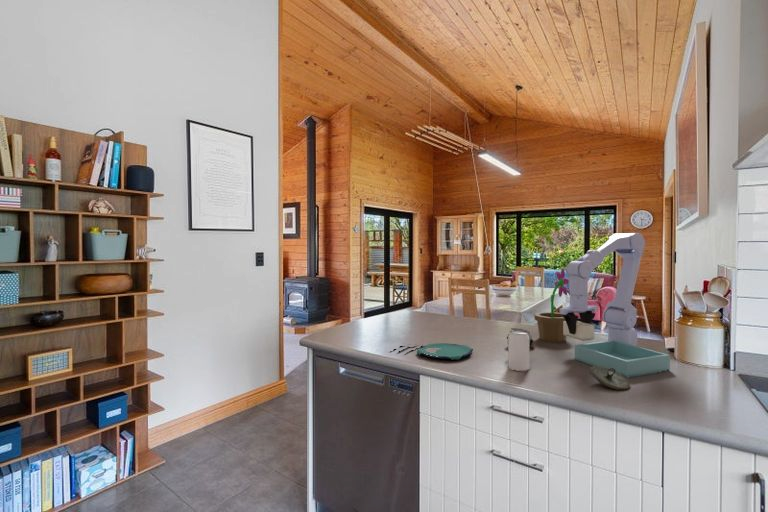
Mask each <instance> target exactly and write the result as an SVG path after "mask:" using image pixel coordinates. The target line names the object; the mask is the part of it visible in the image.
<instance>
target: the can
mask: <svg viewBox="0 0 768 512" xmlns="http://www.w3.org/2000/svg"><path fill="white" fill-rule="evenodd" d="M509 333H510V334H509ZM509 333H508V334H509V336H508V335H507V337H508V339H507V345H508V346H507V347H508V349H507V352H508V355H507V356H508V358H507V359H508V360H507V362H508V368H509V369H510V368H511V369H513V370H512V371H514V370H518V371H517V372H527V371H529V370H530V347H529V336H528V332H526V331H521V330H512V331H511V330H510V331H509ZM511 369H510V370H511ZM526 370H527V371H526Z"/></svg>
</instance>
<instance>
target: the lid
mask: <svg viewBox="0 0 768 512" xmlns="http://www.w3.org/2000/svg"><path fill="white" fill-rule="evenodd" d="M589 374H590V375H591V376H592V377H593V378H594V379H595V380H596V381H598V382H599V383H600V384H602V385H603V386H606V387H608V388H609V389H612V390H615V391H626V390H629V389H630V387H631V385H630V382H629V381H628V378H625V377H624V376H622V375H621V374H619V373H618V372H616V370H615V369H614V368H610V369H609V368H606V367H602V366H592V365H591V366H590V367H589Z"/></svg>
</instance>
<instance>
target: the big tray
mask: <svg viewBox="0 0 768 512" xmlns="http://www.w3.org/2000/svg"><path fill="white" fill-rule="evenodd" d="M574 360H575V361H578V362H581V363H584V364H587V365H589V366H591V367H592V366H602V367H606V368H609V369H610V368H614V369H615V370H616V372H618V373H619V374H621V375H622V376H624V377H625V378H626V379H629V378H635V377H639V376H640V377H642V376H647V375H654V374H658V373H657V372H659V373H663V372H662V371H665V372H668V371H667V370H670V371H671V367H670V366H671V354H669V353H668V354H667V353H665V352H664V353H663V352H661V351H660V352H659V351H656V350H652V349H650V348H649V349H648V348H646V347H645V348H644V347H643V346H642V347H641V346H638V345H637V346H634V345H630V344H626V343H623V342H619V341H615V340H611V341H608V340H605V341H596V342H588V343H581V344H574ZM653 373H654V374H653Z"/></svg>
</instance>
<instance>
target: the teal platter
mask: <svg viewBox="0 0 768 512" xmlns="http://www.w3.org/2000/svg"><path fill="white" fill-rule="evenodd" d="M435 347H436V348H441V349H439V350H436V352H435V353H436V354H435V353H430V352H427V351H426V350H425V349H427V348H435ZM473 350H474V349H473V348H472V347H471V346H468V345H466V344H463V345H462V344H456V343H447V342H438V343H429V344H426V345H423V346H422V347H420V348H418V349H416V354H417V353H418V354H419V355H418V354H417V355H418V356H420V355H423V356H426V357H429V358H432V359H433V358H434V359H443V360H444V359H446V360H447V359H448V360H450V359H451V360H452V361H453V360H454V359H455V360H460V359H461V358H465V357H468V356H469V355H471V354H472V353H473ZM424 353H425V354H424ZM426 354H428V355H426ZM430 355H432V356H430ZM436 356H438V357H436Z"/></svg>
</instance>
